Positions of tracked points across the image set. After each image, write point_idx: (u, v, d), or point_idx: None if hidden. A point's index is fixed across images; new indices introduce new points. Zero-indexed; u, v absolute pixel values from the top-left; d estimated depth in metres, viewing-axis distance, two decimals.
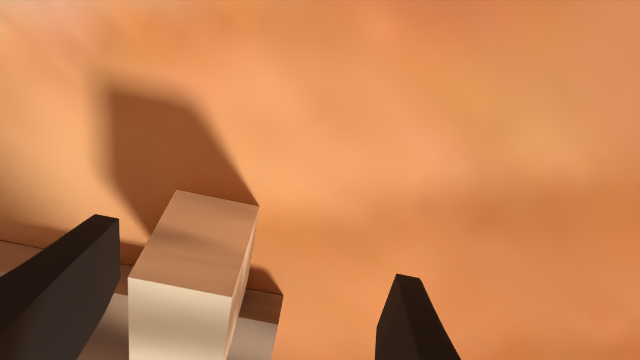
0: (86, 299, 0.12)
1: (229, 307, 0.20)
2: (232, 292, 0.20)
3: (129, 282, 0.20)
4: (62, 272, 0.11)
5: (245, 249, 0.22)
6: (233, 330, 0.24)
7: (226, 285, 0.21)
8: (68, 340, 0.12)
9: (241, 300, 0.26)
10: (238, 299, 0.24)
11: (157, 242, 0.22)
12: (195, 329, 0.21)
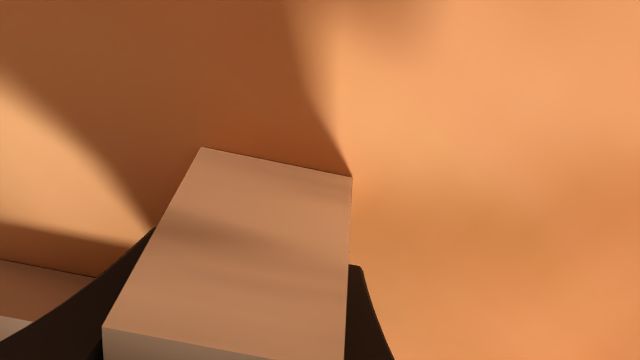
0: None
1: None
2: (341, 359, 0.09)
3: (105, 338, 0.09)
4: None
5: (346, 259, 0.11)
6: None
7: (326, 342, 0.09)
8: None
9: None
10: None
11: (168, 245, 0.10)
12: None
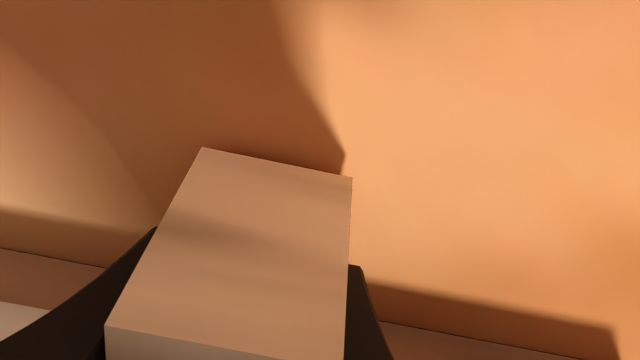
0: None
1: None
2: (340, 357, 0.09)
3: (108, 336, 0.09)
4: None
5: (346, 258, 0.11)
6: None
7: (326, 339, 0.09)
8: None
9: None
10: None
11: (169, 244, 0.10)
12: None
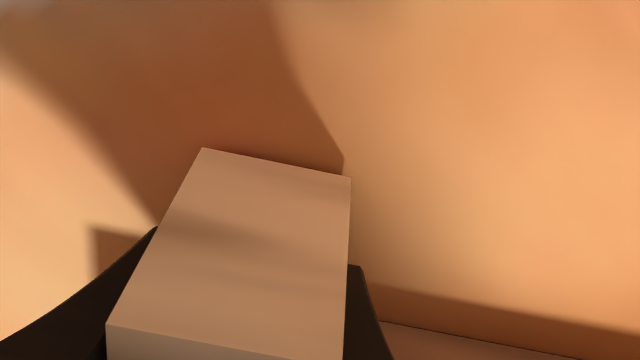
0: None
1: None
2: (340, 355, 0.09)
3: (109, 334, 0.09)
4: None
5: (345, 257, 0.11)
6: None
7: (325, 338, 0.09)
8: None
9: None
10: None
11: (170, 243, 0.11)
12: None
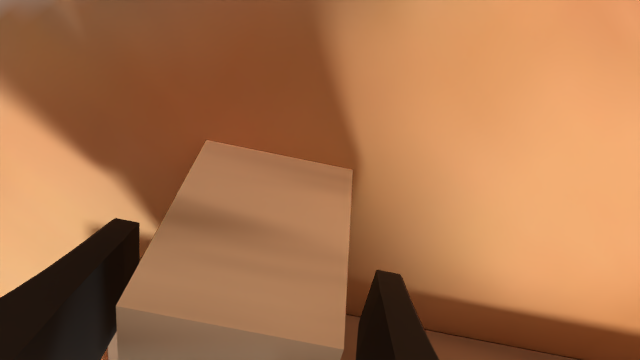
0: (108, 303, 0.12)
1: None
2: (341, 337, 0.09)
3: (119, 316, 0.09)
4: (87, 277, 0.11)
5: (347, 245, 0.12)
6: None
7: (327, 321, 0.10)
8: (91, 344, 0.12)
9: None
10: None
11: (177, 231, 0.11)
12: None
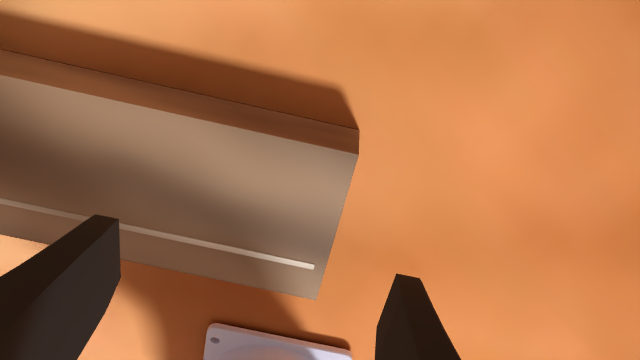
0: (86, 299, 0.12)
1: None
2: None
3: None
4: (62, 272, 0.11)
5: None
6: None
7: None
8: (68, 340, 0.12)
9: None
10: None
11: None
12: None
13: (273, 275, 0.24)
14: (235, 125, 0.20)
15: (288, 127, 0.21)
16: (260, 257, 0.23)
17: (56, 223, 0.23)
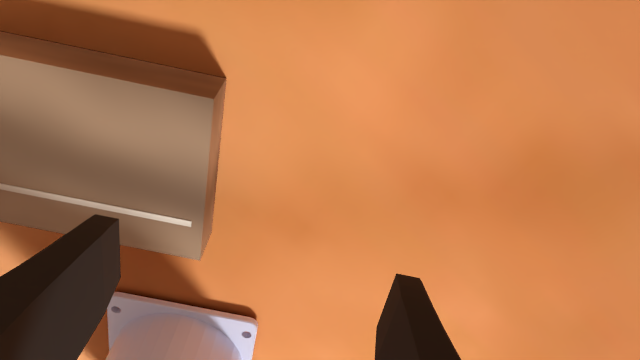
0: (86, 299, 0.12)
1: None
2: None
3: None
4: (62, 272, 0.11)
5: None
6: None
7: None
8: (68, 340, 0.12)
9: None
10: None
11: None
12: None
13: (152, 234, 0.23)
14: (84, 71, 0.19)
15: (145, 74, 0.20)
16: (136, 214, 0.22)
17: None
